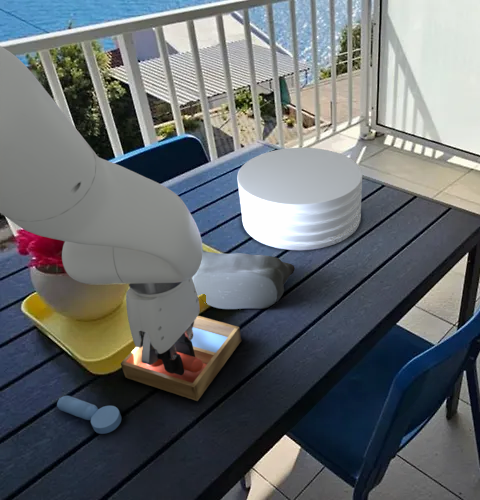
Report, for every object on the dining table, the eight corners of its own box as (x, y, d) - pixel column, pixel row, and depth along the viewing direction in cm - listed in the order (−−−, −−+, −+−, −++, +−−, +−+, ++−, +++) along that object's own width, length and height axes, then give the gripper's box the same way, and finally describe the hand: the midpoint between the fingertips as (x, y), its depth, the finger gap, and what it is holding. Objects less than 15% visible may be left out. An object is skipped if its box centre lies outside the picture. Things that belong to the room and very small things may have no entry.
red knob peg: (139, 363, 78) (136, 353, 77) (154, 346, 81) (152, 336, 79) (196, 380, 75) (193, 371, 74) (209, 362, 78) (207, 353, 77)
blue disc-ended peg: (127, 415, 73) (123, 406, 72) (109, 437, 70) (104, 427, 69) (71, 396, 76) (67, 386, 74) (52, 416, 73) (46, 406, 72)
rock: (296, 273, 101) (294, 241, 97) (289, 311, 92) (287, 278, 87) (206, 271, 101) (200, 239, 97) (190, 308, 92) (183, 275, 88)
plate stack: (378, 237, 112) (381, 193, 106) (254, 260, 104) (249, 213, 98) (339, 182, 134) (339, 141, 127) (234, 197, 126) (228, 155, 119)
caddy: (197, 401, 75) (194, 387, 74) (125, 377, 79) (120, 363, 77) (241, 340, 86) (239, 326, 84) (176, 322, 89) (172, 308, 87)
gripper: (169, 235, 74) (189, 325, 85) (90, 301, 62) (126, 397, 72) (212, 245, 72) (228, 336, 83) (140, 316, 60) (169, 412, 70)
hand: (180, 364), depth 78 cm, fingers closed on red knob peg, 2 cm apart
